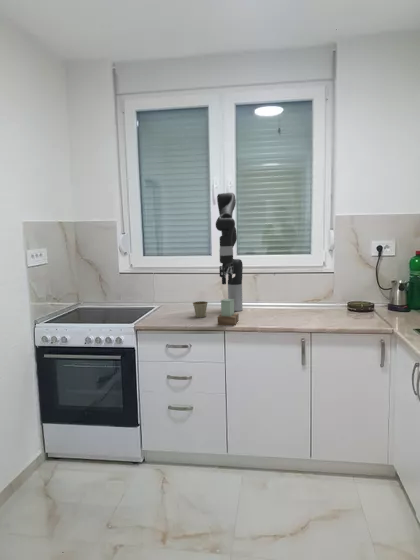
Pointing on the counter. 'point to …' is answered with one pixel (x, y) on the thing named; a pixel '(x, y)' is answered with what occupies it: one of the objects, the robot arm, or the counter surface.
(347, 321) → the counter surface
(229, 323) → the walnut box
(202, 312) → the flower pot
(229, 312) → the canister
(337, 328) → the counter surface
